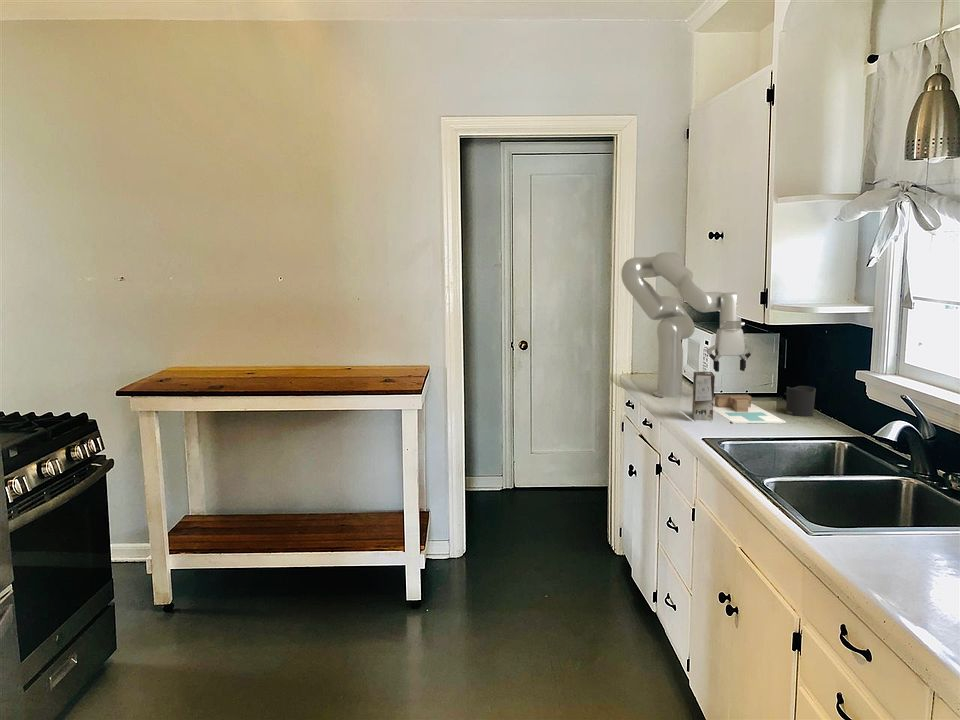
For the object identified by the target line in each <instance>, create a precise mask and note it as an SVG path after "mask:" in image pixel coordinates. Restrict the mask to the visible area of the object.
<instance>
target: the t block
mask: <svg viewBox="0 0 960 720" xmlns="http://www.w3.org/2000/svg"><path fill="white" fill-rule="evenodd" d="M714 402H715V406H717V407H729V408H731V409H733V410H734V411H736V412H748V407H751V403H752V396H751V395H749V394H714Z"/></svg>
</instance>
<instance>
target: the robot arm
mask: <svg viewBox="0 0 960 720" xmlns="http://www.w3.org/2000/svg"><path fill="white" fill-rule="evenodd" d="M684 264H685V263H684V259H683V257H682V256H681V255H680V254H678V253H677V252H665V251H664V252H660V253H657V254H656V255H655V256H645V257H644V256H639V257H637V256H636V257H632V258H631V257H630V258H629V259H627V260H626V261H625V262H624V263H623V265H622V269H621V274H620V275H621V282H622V284H623V286H624V287H625V289H626V290H627V291H628V292H629V294H630V295H631V296H632V298H634V300H635V301H636V303H637V304H638V305H639V307H640V309H642V311H643V312H644V314H646V316H647V317H648V318H649V319H650V320H653V321H660V322H659V323H658V324H657V326H656V327H657V328H656V335H657V342H658V362H657V363H658V364H657V388H656V389H657V390H654V391H653V392H652V393H653V395H654V396H655V397H658V398H664V397H665V398H682V397H685V396H686V394H687V393H686V392H685V391H683V367H684V366H683V365H684V348H683V344H682V340H686V339H689V338H690V337H692V336H693V334H694V332H695V330H696V329H695V323H694V321H693V319H692V318H691V316H690V315H689V314H688V312H687V311H686V310H685V309H684V308H683V306H682V305H681V304H680V302H679V301H678V300H676V299H675V298H674V297H672V296H669V295H664V296H663V295H660V294H659V293H657V291H656V289H654V287H653V286H652V285H651V284H650V283H649V282H647V280H646V279H647V278H649V279H650V278H656V277H662V278H663V279H664V280H666V281H667V282H669V283H670V284H671V285H672V286H673V287H674V288H676V289H677V291H678V293H679V296H680V297H681V299H682V300H683V301H685V303H686V304H687V305H689V306H691V308H693V309H694V310H696V311H698V312H701V313H712V312H713V313H714V312H719V328H717V330H716V334H715V340H714V345H712V346H710V347H708V348H706V352H707V354H708V357H710V359H711V360H712V361H713V362H712V363H713V364H712V367H713V370H714V372H717V373H718V372H720V361H719V359H720V358H721V357H737V356H738V357H739V358H740V360H739V370H740V371H741V372H745V369H746V368H747V367H746V366H747V360H748V359H749V358H750V357H751V355H752V353H753V351H754V348H753V347H751V346H748V345H747V344H746V343H745V336H744V330H743V329H742V327H743V326H745V322H744V321H742V317H741V318H740V317H738V316H736V313H737V311H736V307H737V305H736V303H737V295H736V293H737V292H721V291H704V290H703V289H701V288H700V287H699V286H698V285H697V284H695V282H693V277H694V273H693V271H692V270H690V269H689V268H688V267H686V266H685V265H684ZM645 278H646V279H645ZM745 350H747V352H745ZM713 351H714V354H713Z"/></svg>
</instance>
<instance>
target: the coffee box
mask: <svg viewBox="0 0 960 720" xmlns="http://www.w3.org/2000/svg"><path fill="white" fill-rule="evenodd" d="M692 377H693V381H692V383H693V384H692V409H691V410H692V413H691V415H692V419H693V421H694V422H696V421H708V422H712V421H713V419H714V418H713V417H714V410H713V402H715V380H716V379H715V378H716V375H715V374H714V373H713V372H712V371H693V376H692Z"/></svg>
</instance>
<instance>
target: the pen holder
mask: <svg viewBox="0 0 960 720" xmlns="http://www.w3.org/2000/svg"><path fill="white" fill-rule="evenodd" d="M816 392H817V388H815V387H812V386H808V385H798V386H795V387H790V386H786V405H785V406H786V407H785V408H786V415H788V416H794V417H800V418H801V417H803V418H805V417H806V418H808V417H810V418H812V417H813V415H814V409H815V402H816V401H815V400H816Z"/></svg>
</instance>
